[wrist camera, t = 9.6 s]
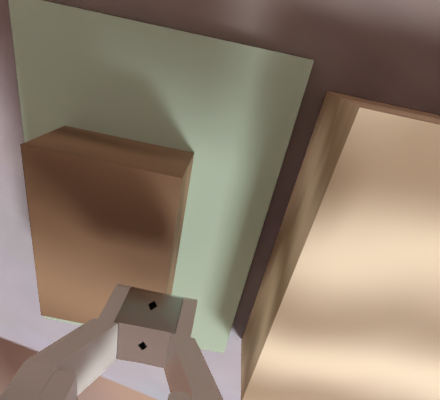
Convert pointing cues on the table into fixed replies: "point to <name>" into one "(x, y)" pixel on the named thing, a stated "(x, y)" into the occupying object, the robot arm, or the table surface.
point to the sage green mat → (171, 127)
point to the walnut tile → (102, 217)
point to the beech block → (354, 264)
